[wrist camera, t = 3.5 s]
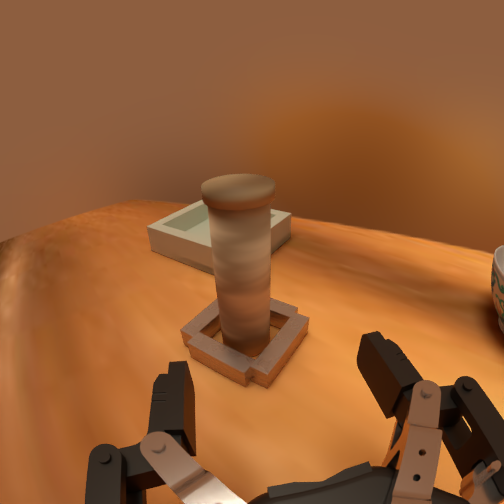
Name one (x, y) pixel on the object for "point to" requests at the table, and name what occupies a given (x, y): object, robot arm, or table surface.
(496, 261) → the chinaware
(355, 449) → the table surface
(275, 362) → the stop collar
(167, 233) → the tray
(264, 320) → the stop peg
